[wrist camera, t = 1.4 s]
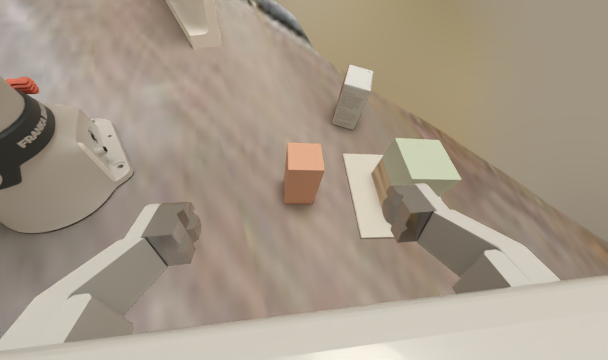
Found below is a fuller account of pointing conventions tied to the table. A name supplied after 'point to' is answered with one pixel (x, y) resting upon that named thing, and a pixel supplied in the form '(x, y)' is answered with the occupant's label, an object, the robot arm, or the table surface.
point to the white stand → (197, 21)
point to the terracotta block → (302, 172)
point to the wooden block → (381, 181)
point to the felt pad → (366, 196)
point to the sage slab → (420, 164)
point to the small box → (352, 97)
